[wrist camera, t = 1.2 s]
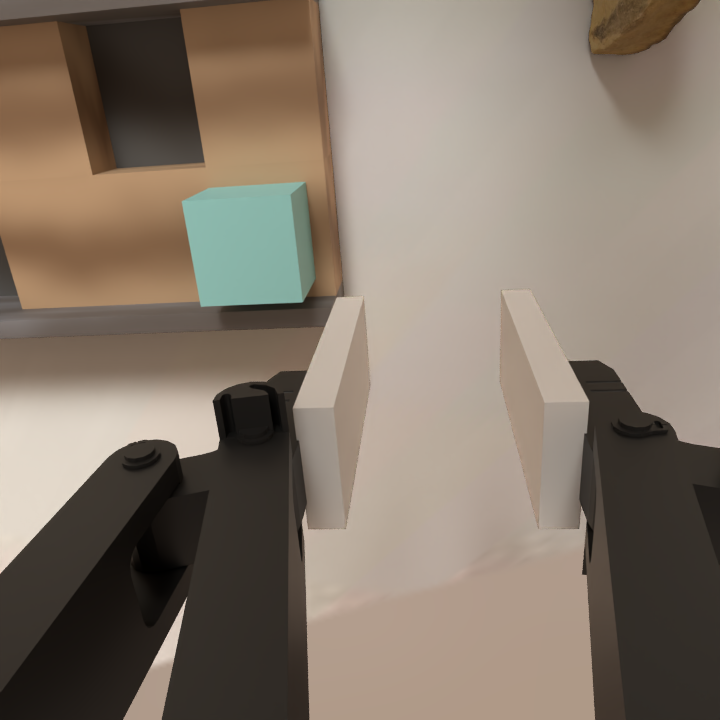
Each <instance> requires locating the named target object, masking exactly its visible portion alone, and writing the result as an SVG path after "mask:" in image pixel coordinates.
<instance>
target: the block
mask: <svg viewBox="0 0 720 720" xmlns="http://www.w3.org/2000/svg"><path fill="white" fill-rule="evenodd" d="M182 206H183V212H184V217H185V223H186V228H187V233H188V239H189V244H190V250H191V255H192V261H193V266H194V272H195V277H196V283H197V288H198V294H199V299H200V305H201V307H204V306H228V305H251V304H275V303H299V302H303V301H304V299H305V297H306V296H307V294H308V292H309V290H310V288H311V286H312V285H313V283H314V281H315V279H316V276H315V266H314V256H313V247H312V237H311V228H310V218H309V209H308V199H307V189H306V182H294V183H278V184H262V185H247V186H231V187H215V188H208V189H206V190H204V191H202V192H200V193H198V194H196V195H194V196H192V197H189V198H187V199H185V200H183V201H182Z"/></svg>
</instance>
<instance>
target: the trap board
mask: <svg viewBox="0 0 720 720" xmlns="http://www.w3.org/2000/svg"><path fill="white" fill-rule="evenodd" d="M294 182H306V189H307V199H308V209H309V218H310V228H311V237H312V247H313V256H314V266H315V276H316V279H315V281H314V283H313V285H312V286H311V288H310V290H309V292H308V294H307V296H306V297H305V299H304V301H303V302H299V303H275V304H251V305H228V306H204V307H201V305H200V299H199V294H198V288H197V283H196V277H195V272H194V266H193V261H192V255H191V250H190V244H189V239H188V233H187V228H186V223H185V217H184V212H183V206H182V201H183V200H185V199H187V198H189V197H192V196H194V195H196V194H198V193H200V192H202V191H204V190H206V189H208V188H215V187H231V186H247V185H262V184H278V183H294ZM337 297H344V291H343V280H342V268H341V257H340V245H339V234H338V222H337V211H336V199H335V188H334V176H333V165H332V153H331V142H330V130H329V119H328V108H327V96H326V85H325V73H324V62H323V50H322V39H321V27H320V16H319V4H318V0H0V339H9V338H36V337H62V336H88V335H115V334H141V333H168V332H194V331H221V330H247V329H274V328H300V327H325V326H326V323H327V321H328V318H329V316H330V313H331V310H332V308H333V305H334V303H335V300H336V298H337Z"/></svg>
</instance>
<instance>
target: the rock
mask: <svg viewBox="0 0 720 720" xmlns="http://www.w3.org/2000/svg"><path fill="white" fill-rule="evenodd" d="M593 2H594V6H593V12H592V17H591V27H590V31H589V43H590V45H591V52H592V53H593V54H617V55H626V54H635V53H639V52H641V51H644V50H646V49H649V48H650V47H651V46H652V45H654V44H657V43H659V42H661V41H662V40H664V39H666V37H667V36H668V34H669V33H670V32H671V30H672V29H673V28H674V26H675V25H676V24H677V23H679V22H680V21H681V19H682V18H683V17H684V16H685V14H686V13H687V12H689V11H690V10H692V9H694V8H695V7H696V6H697V4H698V3H699V2H700V0H593Z"/></svg>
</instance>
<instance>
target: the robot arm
mask: <svg viewBox="0 0 720 720" xmlns="http://www.w3.org/2000/svg"><path fill="white" fill-rule="evenodd" d="M500 384H501V388H502V391H503V395H504V399H505V403H506V407H507V411H508V414H509V418H510V422H511V426H512V430H513V433H514V437H515V441H516V445H517V449H518V452H519V456H520V460H521V464H522V468H523V472H524V475H525V479H526V483H527V487H528V491H529V494H530V498H531V502H532V506H533V510H534V513H535V517H536V521H537V525H538V529H579V525H580V512H581V506H582V508H583V511H584V514H585V516H586V519H587V524H586V536H585V548H584V560H583V571H582V574H583V575H587V585H588V603H589V620H590V637H591V655H592V672H593V687H594V688H593V689H594V707H595V720H720V448H714V447H707V446H700V445H694V444H689V443H685V442H681V441H678V438H677V435H676V432H675V430H674V429H673V427H672V426H671V425H670V423H668V422H666V421H665V420H663V419H661V418H660V417H657V416H654V415H651V414H648V413H644V412H642V411H641V410H640V408H639V407H638V405H637V404H636V402H635V401H634V399H633V398H632V396H631V395H630V393H629V392H628V391H627V389H626V387H625V386H624V384H623V383H621V380H620V378H619V377H618V375H617V374H616V373H615V371H614V370H613V369H612V368H610V367H608V366H607V365H605V364H603V363H601V362H600V361H598V360H594V361H568V360H567V358H566V356H565V354H564V353H563V351H562V349H561V347H560V345H559V343H558V341H557V339H556V337H555V336H554V334H553V332H552V330H551V328H550V326H549V324H548V322H547V320H546V318H545V317H544V315H543V313H542V311H541V309H540V307H539V305H538V303H537V301H536V299H535V298H534V296H533V294H532V292H531V290H530V289H518V290H501V339H500ZM369 390H370V373H369V359H368V346H367V332H366V319H365V305H364V296H355V297H337V298H336V300H335V303H334V305H333V308H332V310H331V313H330V316H329V318H328V321H327V323H326V326H325V328H324V331H323V333H322V336H321V338H320V341H319V343H318V346H317V348H316V351H315V353H314V356H313V358H312V361H311V363H310V366H309V368H308V371H284V372H279V373H278V374H277V375H275V376H274V377H272V378H271V379H270V380H268V381H267V382H248V383H242V384H237V385H235V386H232V387H229V388H227V389H225V390H223V391H222V392H220V393H219V394H217V395H216V397H215V398H214V400H213V405H214V410H215V416H216V421H217V426H218V432H219V437H220V441H219V446H218V450H216V451H213V452H210V453H206V454H202V455H198V456H193V457H187V458H182V459H179V454H178V450H177V448H176V446H175V445H174V444H172V443H171V442H169V441H164V440H142V441H138V442H134V443H131V444H128V445H127V446H125V447H123V448H121V449H119V450H117V451H116V452H114V453H113V454H112V455H111V456H109V457H108V458H107V459H106V460H105V461H104V462H103V463H102V465H101V466H100V467H99V468H98V469H97V470H96V471H95V472H94V473H93V474H92V475H91V476H90V478H89V479H88V480H87V481H86V482H85V483H84V484H83V485H82V486H81V487H80V488H79V489H78V490H77V492H76V493H75V494H74V495H73V496H72V497H71V498H70V499H69V500H68V501H67V502H66V503H65V505H64V506H63V507H62V508H61V509H60V510H59V511H58V512H57V513H56V514H55V515H54V516H53V518H52V519H51V520H50V521H49V522H48V523H47V524H46V525H45V526H44V527H43V528H42V529H41V530H40V532H39V533H38V534H37V535H36V536H35V537H34V538H33V539H32V540H31V541H30V542H29V543H28V545H27V546H26V547H25V548H24V549H23V550H22V551H21V552H20V553H19V554H18V555H17V556H16V558H15V559H14V560H13V561H12V562H11V563H10V564H9V565H8V566H7V567H6V568H5V569H4V570H3V572H2V573H1V574H0V720H123V718H124V717H125V715H126V713H127V711H128V709H129V707H130V705H131V703H132V701H133V699H134V697H135V695H136V694H137V692H138V690H139V688H140V686H141V684H142V682H143V680H144V678H145V676H146V674H147V673H148V671H149V669H150V667H151V665H152V663H153V661H154V659H155V657H156V655H157V653H158V651H159V650H160V648H161V646H162V644H163V642H164V640H165V638H166V636H167V634H168V632H169V630H170V628H171V627H172V625H173V623H174V621H175V619H176V617H177V615H178V613H179V611H180V609H181V607H182V606H183V604H184V602H185V600H186V598H187V600H186V605H185V610H184V615H183V620H182V625H181V629H180V634H179V639H178V644H177V649H176V653H175V658H174V663H173V668H172V673H171V678H170V682H169V687H168V692H167V697H166V702H165V706H164V711H163V716H162V720H309V693H308V692H309V691H308V658H307V657H308V656H307V621H306V585H305V550H304V536H303V529H302V519H303V516H304V512H305V509H306V515H307V523H308V529H346V525H347V519H348V513H349V507H350V502H351V496H352V490H353V484H354V478H355V472H356V466H357V460H358V455H359V449H360V443H361V437H362V431H363V425H364V419H365V413H366V408H367V402H368V396H369Z"/></svg>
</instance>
